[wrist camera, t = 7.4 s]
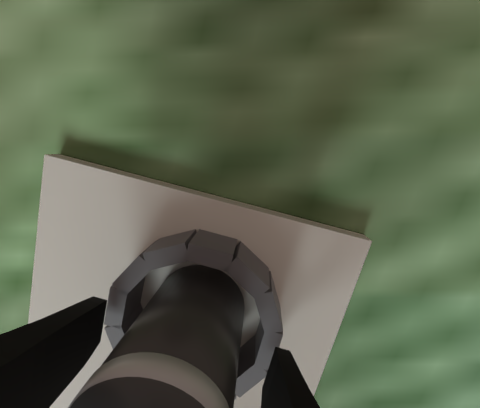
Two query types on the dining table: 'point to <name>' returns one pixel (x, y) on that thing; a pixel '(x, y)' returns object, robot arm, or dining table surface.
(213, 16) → the dining table surface
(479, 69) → the dining table surface
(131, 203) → the mount board
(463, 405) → the dining table surface
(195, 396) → the lens
